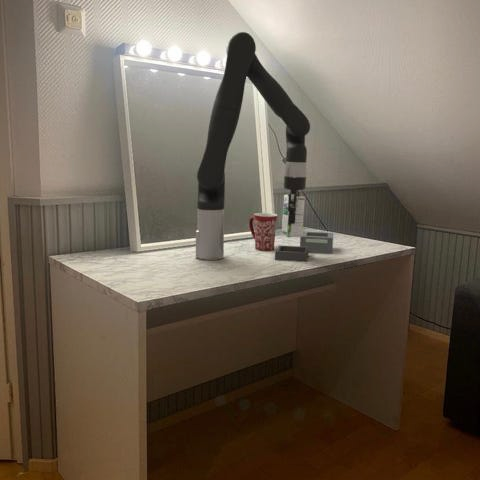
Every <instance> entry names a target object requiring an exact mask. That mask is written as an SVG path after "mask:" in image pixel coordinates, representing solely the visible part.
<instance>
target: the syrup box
mask: <svg viewBox="0 0 480 480" xmlns="http://www.w3.org/2000/svg"><path fill="white" fill-rule="evenodd" d="M288 195H289V194H284V195H283V208H282V220H281V221H282V222H281V223H282V224H281V235H282V236H285V237H287V238H300V237H302V232H303V229H304V216H305V215H304V213H305V201H306V197H305V196H302V195H300V196H297V199H298V198H299V199H298V207H297V208H296V214H295V223H294V224H289V222H288V221H289V211H288V197H289V196H288ZM291 201H294V200H291ZM296 203H297V200H296ZM290 208H294V207H292V206H291V207H290Z"/></svg>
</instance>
